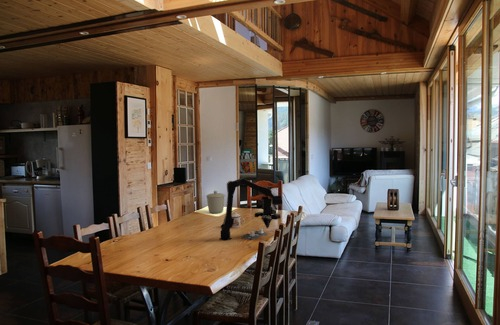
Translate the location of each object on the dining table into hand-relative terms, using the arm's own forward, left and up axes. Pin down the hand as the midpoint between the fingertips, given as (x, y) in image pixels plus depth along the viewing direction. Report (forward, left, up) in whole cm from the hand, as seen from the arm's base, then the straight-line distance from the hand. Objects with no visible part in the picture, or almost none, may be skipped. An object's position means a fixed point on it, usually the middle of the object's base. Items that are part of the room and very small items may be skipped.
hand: (267, 227), depth 268 cm
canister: (+50, +96, -6) cm, 108 cm away
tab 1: (-10, +6, -5) cm, 12 cm away
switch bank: (-5, +8, -6) cm, 11 cm away
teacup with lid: (+12, +38, -6) cm, 40 cm away
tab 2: (0, +6, -5) cm, 7 cm away
